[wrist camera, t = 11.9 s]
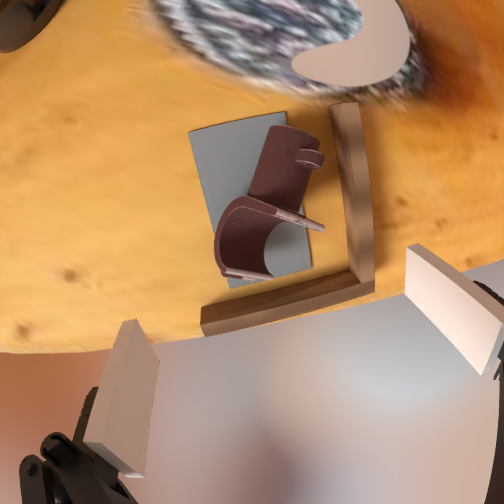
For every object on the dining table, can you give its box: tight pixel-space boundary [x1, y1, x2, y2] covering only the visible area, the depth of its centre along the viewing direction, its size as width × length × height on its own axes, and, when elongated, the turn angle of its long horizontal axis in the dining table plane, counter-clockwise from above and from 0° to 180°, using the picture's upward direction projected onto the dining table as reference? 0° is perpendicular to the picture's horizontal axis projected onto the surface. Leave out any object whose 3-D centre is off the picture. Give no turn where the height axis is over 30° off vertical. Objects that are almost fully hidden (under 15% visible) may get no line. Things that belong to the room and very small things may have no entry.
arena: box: [200, 102, 375, 337], centre depth 33 cm, size 24×23×4 cm
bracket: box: [214, 125, 325, 281], centre depth 30 cm, size 6×17×10 cm
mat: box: [188, 112, 312, 289], centre depth 34 cm, size 20×11×1 cm, turn 12°
